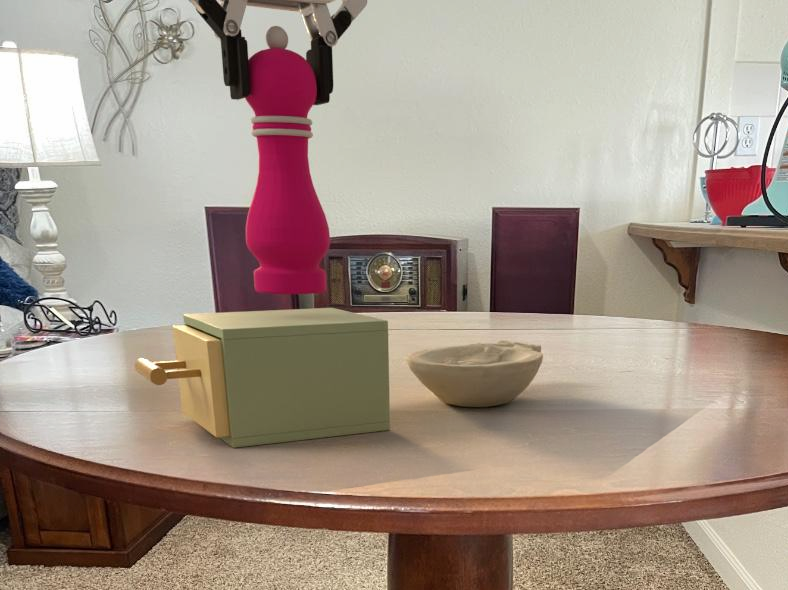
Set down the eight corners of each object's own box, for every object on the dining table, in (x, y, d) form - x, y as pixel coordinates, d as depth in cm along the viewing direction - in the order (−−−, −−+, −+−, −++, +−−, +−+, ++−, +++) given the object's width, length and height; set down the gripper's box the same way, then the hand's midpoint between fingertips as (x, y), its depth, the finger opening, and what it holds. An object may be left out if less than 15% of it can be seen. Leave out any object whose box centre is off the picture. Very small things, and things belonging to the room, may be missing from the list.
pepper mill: (232, 292, 77) (210, 20, 69) (281, 287, 83) (266, 36, 75) (302, 296, 74) (287, 14, 66) (347, 290, 80) (339, 31, 72)
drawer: (164, 443, 72) (152, 344, 69) (135, 416, 81) (123, 328, 78) (364, 421, 80) (361, 332, 77) (317, 399, 89) (313, 318, 86)
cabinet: (233, 448, 74) (222, 329, 71) (194, 419, 84) (182, 314, 81) (390, 430, 81) (388, 320, 77) (336, 405, 91) (332, 307, 87)
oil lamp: (472, 375, 108) (473, 333, 106) (583, 386, 102) (586, 341, 100) (379, 405, 91) (378, 355, 89) (506, 420, 85) (507, 367, 83)
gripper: (352, -140, 72) (358, 111, 79) (133, -186, 64) (162, 97, 72) (392, -171, 66) (395, 104, 73) (156, -226, 58) (185, 88, 66)
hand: (280, 98), depth 72 cm, fingers closed on pepper mill, 6 cm apart
